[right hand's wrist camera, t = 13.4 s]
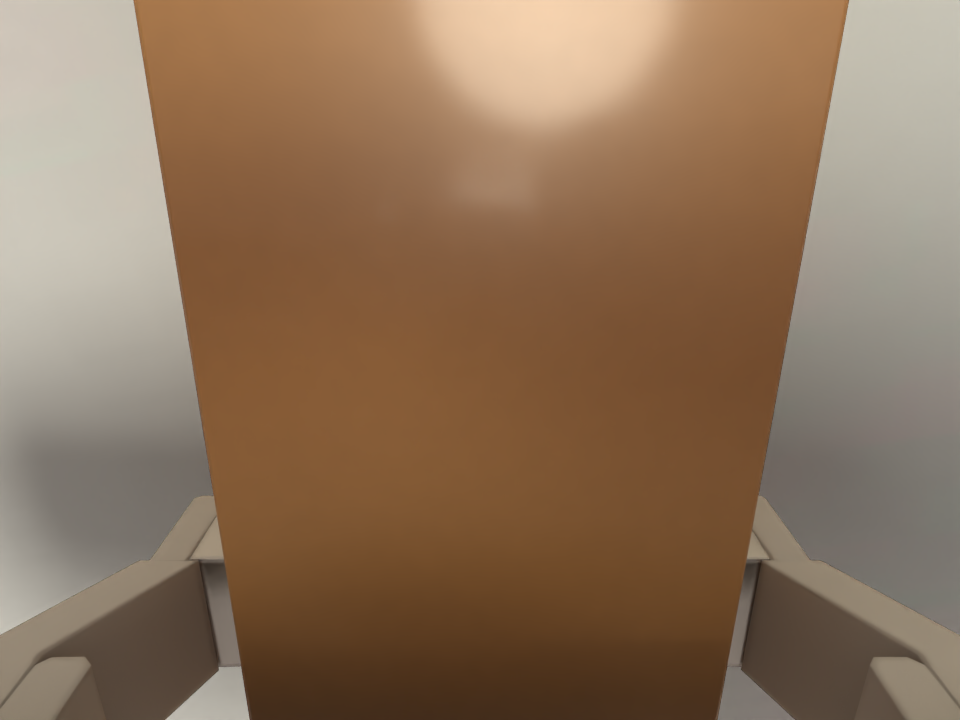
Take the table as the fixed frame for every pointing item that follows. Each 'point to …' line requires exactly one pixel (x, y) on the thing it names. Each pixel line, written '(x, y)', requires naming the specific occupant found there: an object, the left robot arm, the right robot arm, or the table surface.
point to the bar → (487, 334)
